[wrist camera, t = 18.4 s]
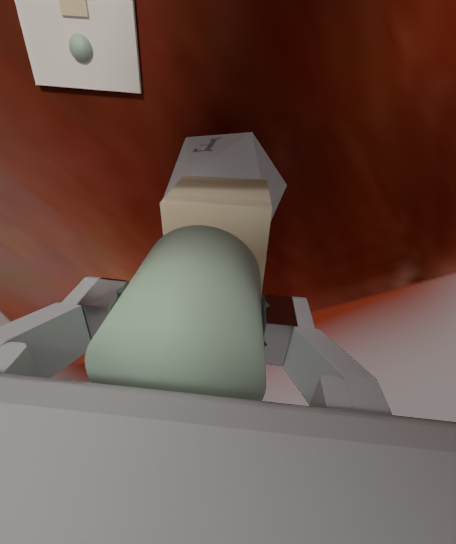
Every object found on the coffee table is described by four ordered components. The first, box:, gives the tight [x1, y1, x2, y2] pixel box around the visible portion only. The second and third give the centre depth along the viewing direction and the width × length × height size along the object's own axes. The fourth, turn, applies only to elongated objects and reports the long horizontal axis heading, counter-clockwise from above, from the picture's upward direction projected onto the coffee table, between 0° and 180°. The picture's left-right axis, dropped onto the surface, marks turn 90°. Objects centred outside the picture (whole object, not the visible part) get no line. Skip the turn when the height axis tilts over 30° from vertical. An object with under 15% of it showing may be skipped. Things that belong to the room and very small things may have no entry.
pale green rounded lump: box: [85, 225, 266, 401], centre depth 10 cm, size 5×5×5 cm
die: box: [164, 132, 287, 220], centre depth 21 cm, size 8×9×10 cm
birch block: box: [160, 175, 272, 292], centre depth 16 cm, size 5×5×5 cm
